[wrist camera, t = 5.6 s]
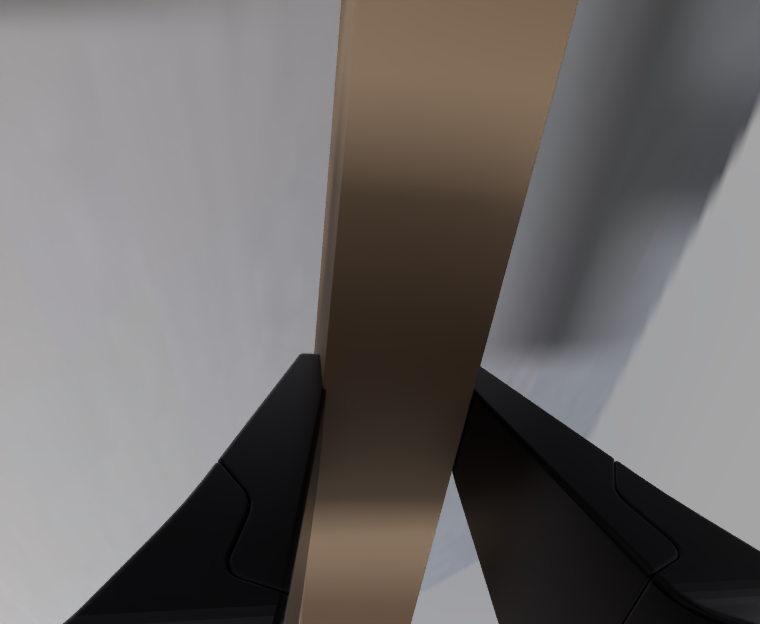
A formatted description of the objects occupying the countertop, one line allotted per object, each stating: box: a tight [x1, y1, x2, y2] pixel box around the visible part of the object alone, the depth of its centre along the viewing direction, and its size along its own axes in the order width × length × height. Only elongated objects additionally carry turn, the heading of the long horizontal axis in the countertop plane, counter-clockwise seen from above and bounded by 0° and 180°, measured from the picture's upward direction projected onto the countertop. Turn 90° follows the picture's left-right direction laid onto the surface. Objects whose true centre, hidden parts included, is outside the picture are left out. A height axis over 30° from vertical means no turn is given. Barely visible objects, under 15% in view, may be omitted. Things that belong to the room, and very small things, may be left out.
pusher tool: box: [299, 0, 578, 624], centre depth 8 cm, size 21×7×4 cm, turn 172°
